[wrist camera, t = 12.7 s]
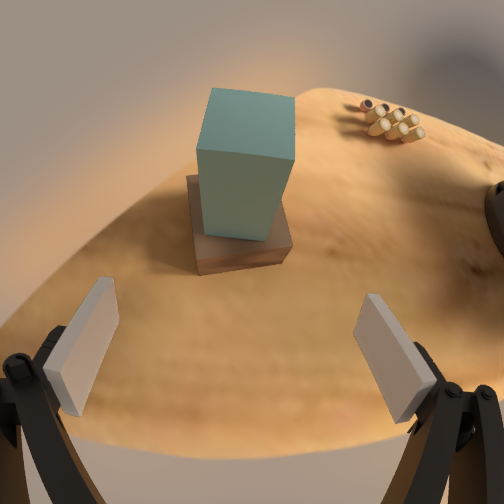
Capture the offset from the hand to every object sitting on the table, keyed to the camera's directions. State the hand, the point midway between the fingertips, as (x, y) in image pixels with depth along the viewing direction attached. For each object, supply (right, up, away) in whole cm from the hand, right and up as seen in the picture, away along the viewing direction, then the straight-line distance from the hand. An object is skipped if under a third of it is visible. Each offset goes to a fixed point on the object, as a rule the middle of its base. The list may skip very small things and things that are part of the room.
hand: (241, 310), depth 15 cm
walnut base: (-1, +5, +16) cm, 16 cm away
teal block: (-1, +6, +11) cm, 13 cm away
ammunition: (+20, +20, +24) cm, 37 cm away
